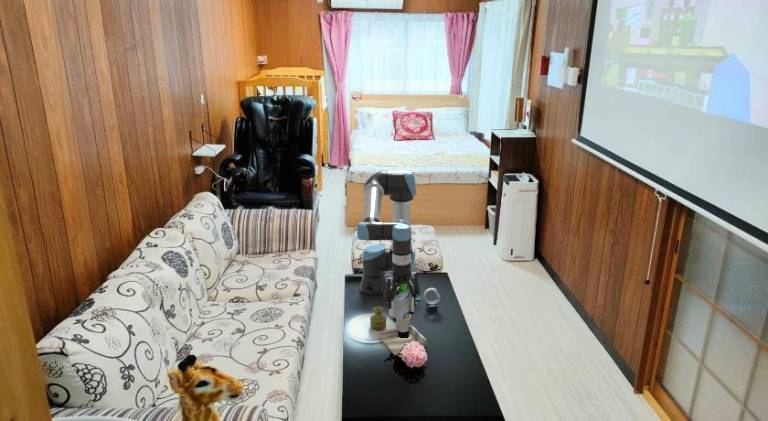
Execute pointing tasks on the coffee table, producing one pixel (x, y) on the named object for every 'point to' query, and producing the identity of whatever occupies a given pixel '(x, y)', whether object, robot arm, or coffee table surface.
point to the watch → (432, 305)
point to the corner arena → (400, 339)
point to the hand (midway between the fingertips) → (401, 312)
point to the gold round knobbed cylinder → (378, 319)
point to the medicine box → (401, 305)
